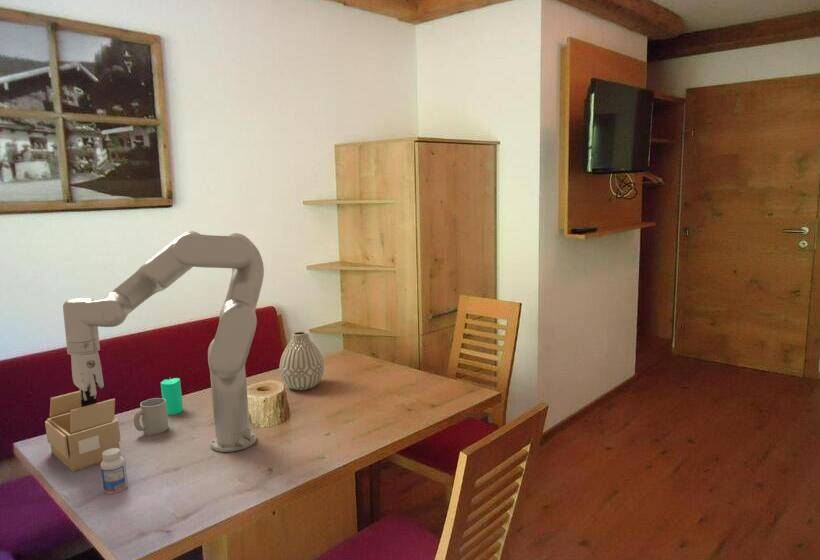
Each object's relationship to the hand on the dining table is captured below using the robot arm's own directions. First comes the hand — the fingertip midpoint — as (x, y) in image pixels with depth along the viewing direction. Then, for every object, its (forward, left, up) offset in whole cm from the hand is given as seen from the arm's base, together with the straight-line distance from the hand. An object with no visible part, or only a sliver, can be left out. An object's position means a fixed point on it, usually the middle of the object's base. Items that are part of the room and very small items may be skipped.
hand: (89, 413), depth 161 cm
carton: (+9, 0, -15) cm, 17 cm away
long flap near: (0, 0, -5) cm, 5 cm away
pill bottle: (-18, +2, -15) cm, 23 cm away
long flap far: (+18, 0, -5) cm, 18 cm away
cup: (+10, -19, -15) cm, 26 cm away
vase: (+7, -73, -15) cm, 75 cm away
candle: (+21, -31, -15) cm, 41 cm away
